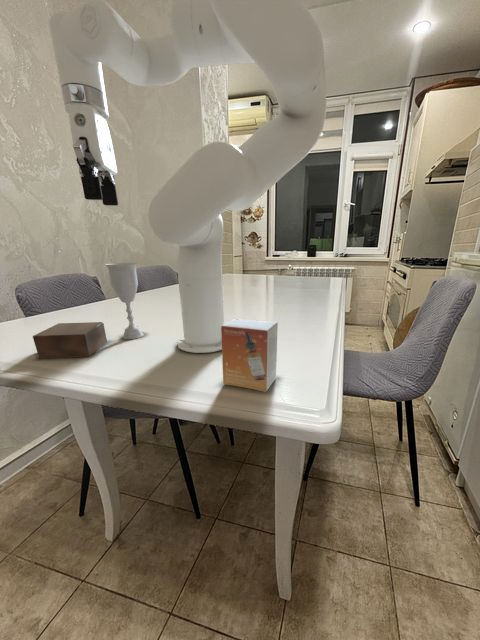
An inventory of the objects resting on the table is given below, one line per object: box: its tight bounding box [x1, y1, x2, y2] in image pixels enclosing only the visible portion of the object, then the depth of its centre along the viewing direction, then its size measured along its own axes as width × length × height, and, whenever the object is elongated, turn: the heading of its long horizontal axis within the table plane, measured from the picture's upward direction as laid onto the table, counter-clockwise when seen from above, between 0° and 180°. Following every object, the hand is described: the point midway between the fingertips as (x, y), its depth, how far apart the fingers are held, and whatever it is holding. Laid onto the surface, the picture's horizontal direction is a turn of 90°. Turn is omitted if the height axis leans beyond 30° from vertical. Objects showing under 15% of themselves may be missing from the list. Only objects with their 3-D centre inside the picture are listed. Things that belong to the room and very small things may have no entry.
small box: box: [221, 317, 279, 393], centre depth 49 cm, size 8×6×10 cm
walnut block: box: [32, 321, 108, 360], centre depth 65 cm, size 10×10×5 cm
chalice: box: [104, 262, 145, 340], centre depth 72 cm, size 7×7×18 cm
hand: (103, 202), depth 63 cm, fingers open, 9 cm apart
